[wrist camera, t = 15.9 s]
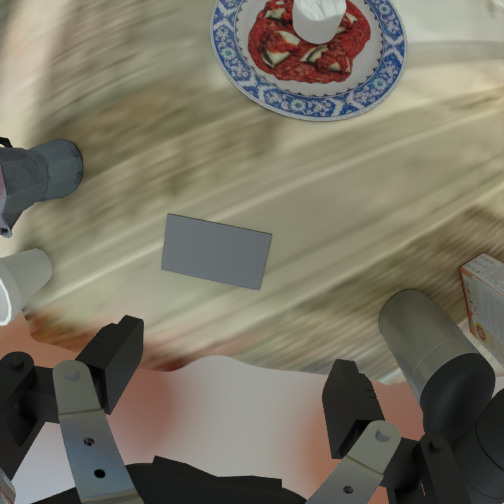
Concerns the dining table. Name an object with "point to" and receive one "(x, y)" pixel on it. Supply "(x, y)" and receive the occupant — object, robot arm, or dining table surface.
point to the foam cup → (21, 281)
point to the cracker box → (485, 302)
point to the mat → (215, 251)
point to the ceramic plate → (310, 57)
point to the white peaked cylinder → (317, 19)
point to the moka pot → (35, 177)
